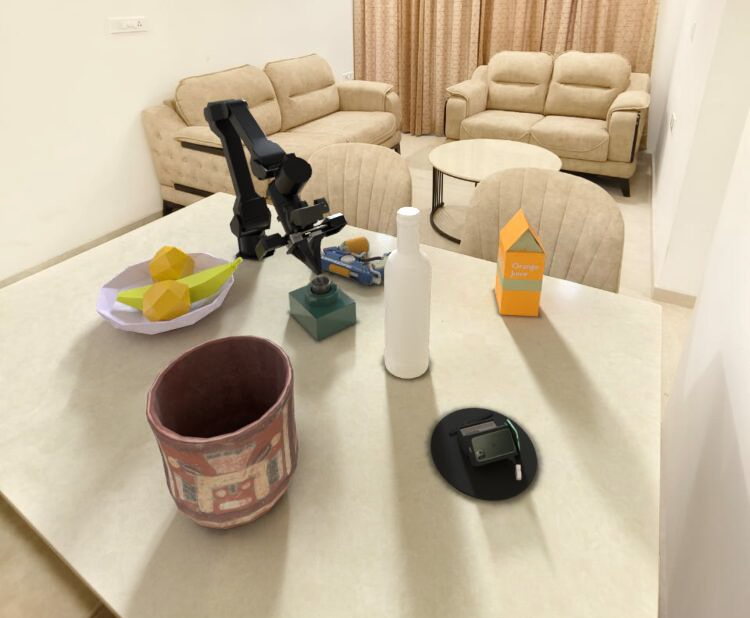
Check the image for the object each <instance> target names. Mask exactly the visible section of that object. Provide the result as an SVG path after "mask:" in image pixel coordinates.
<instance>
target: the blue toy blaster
mask: <svg viewBox="0 0 750 618" xmlns="http://www.w3.org/2000/svg"><path fill="white" fill-rule="evenodd" d="M370 247H371V246H370V242H369V239H368V238H367V237H366V236H359V237H354V238H349V239H345V240H343V241H342V242H341V243H340V244H338V245H337V246H336V245H335V246H327V247H323V248H322V249H321V263H322V270H324V271H327V272H330V273H332V274H335V275H338V276H341V277H344V278H347V279H349V280H352V281H355V282H358V283H361V284H362V285H366V286H370V285H373V284H374V285H380V284H381V283H382V280H384V268H385V265H386V262H387V259H388V257H389V254H391V253H392V252H393V251H389V252H384V253H383V255H382V256H379V255H377V256H373V257H369V258H367V254H368V253H369V251H370V249H371V248H370ZM374 261H375V262H374ZM371 262H372V263H371ZM366 263H367V264H366ZM364 264H366V265H364Z"/></svg>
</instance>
